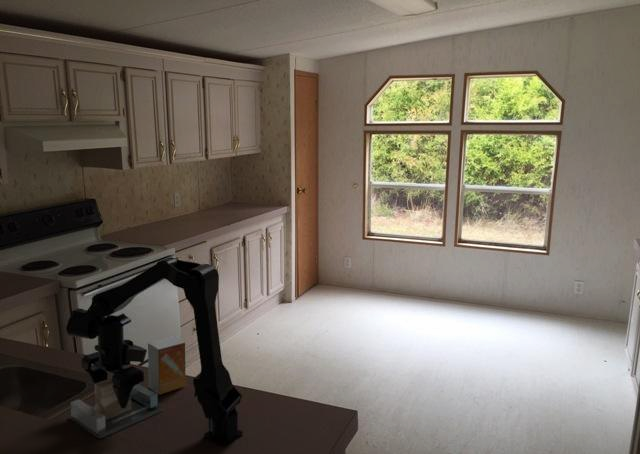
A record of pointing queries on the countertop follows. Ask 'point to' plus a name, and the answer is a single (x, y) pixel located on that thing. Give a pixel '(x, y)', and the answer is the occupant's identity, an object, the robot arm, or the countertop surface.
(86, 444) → the countertop surface
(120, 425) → the vise bed
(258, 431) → the countertop surface
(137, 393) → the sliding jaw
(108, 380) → the ash block
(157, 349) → the small box
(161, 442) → the countertop surface
